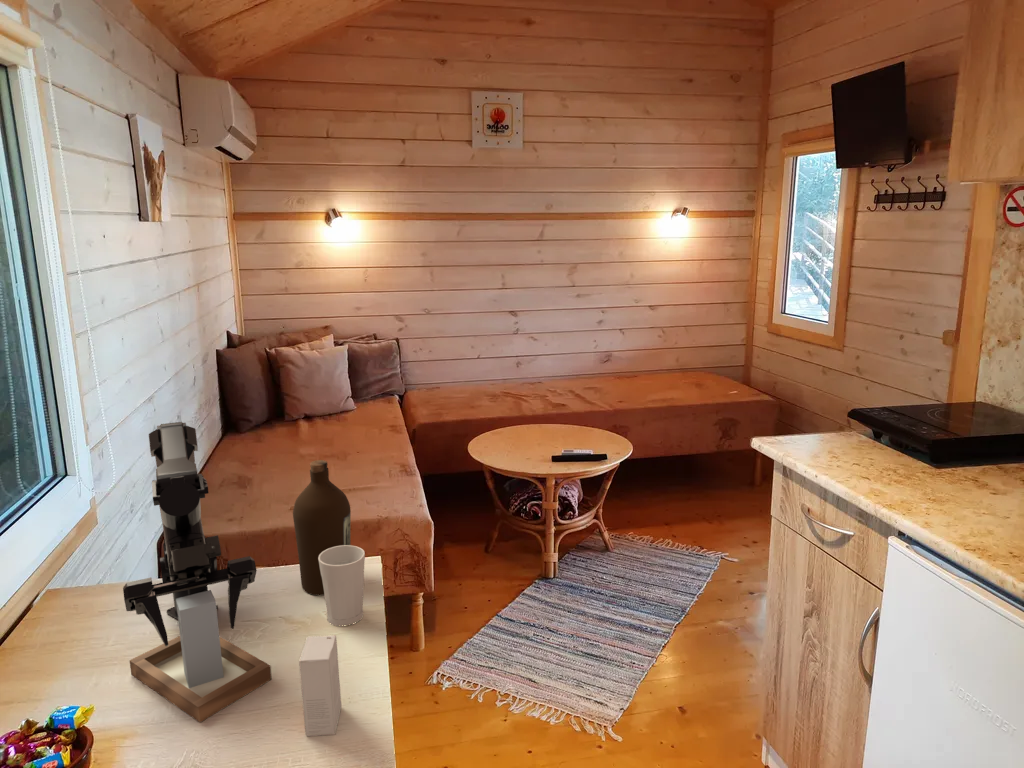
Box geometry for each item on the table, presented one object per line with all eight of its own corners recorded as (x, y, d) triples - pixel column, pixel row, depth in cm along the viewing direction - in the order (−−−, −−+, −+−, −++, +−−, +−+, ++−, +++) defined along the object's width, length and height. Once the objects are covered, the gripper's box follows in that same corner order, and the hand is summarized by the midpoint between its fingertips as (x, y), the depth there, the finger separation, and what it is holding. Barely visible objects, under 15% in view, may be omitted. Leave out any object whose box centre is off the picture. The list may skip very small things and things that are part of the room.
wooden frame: (131, 674, 113) (129, 660, 113) (201, 638, 123) (200, 625, 122) (199, 722, 102) (198, 707, 102) (271, 679, 112) (270, 665, 111)
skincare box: (312, 708, 105) (306, 635, 103) (341, 707, 106) (337, 633, 103) (304, 737, 99) (298, 660, 97) (335, 736, 100) (330, 659, 97)
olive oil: (297, 600, 135) (288, 474, 129) (299, 574, 145) (290, 455, 139) (355, 593, 137) (348, 469, 132) (353, 568, 147) (346, 451, 142)
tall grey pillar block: (184, 674, 112) (175, 598, 109) (218, 664, 115) (210, 589, 112) (188, 688, 109) (179, 610, 106) (223, 677, 112) (215, 601, 109)
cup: (357, 631, 125) (353, 567, 122) (314, 626, 126) (310, 563, 124) (374, 607, 133) (371, 547, 130) (334, 602, 134) (330, 543, 131)
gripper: (115, 534, 105) (127, 639, 98) (249, 509, 114) (268, 604, 107) (120, 561, 114) (132, 660, 107) (244, 536, 123) (262, 626, 116)
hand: (200, 636), depth 109 cm, fingers open, 9 cm apart
